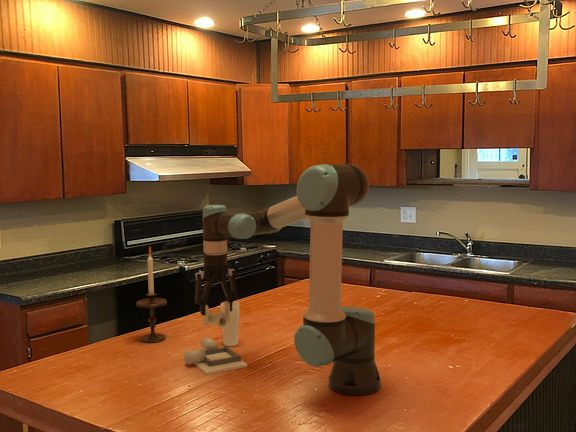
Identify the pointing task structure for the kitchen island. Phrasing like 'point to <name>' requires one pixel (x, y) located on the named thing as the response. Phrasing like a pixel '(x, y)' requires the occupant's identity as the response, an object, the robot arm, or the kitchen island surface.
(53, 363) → the kitchen island surface
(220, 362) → the coupling board
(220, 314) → the pipe fitting
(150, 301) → the candlestick
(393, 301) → the kitchen island surface
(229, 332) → the drinking glass
